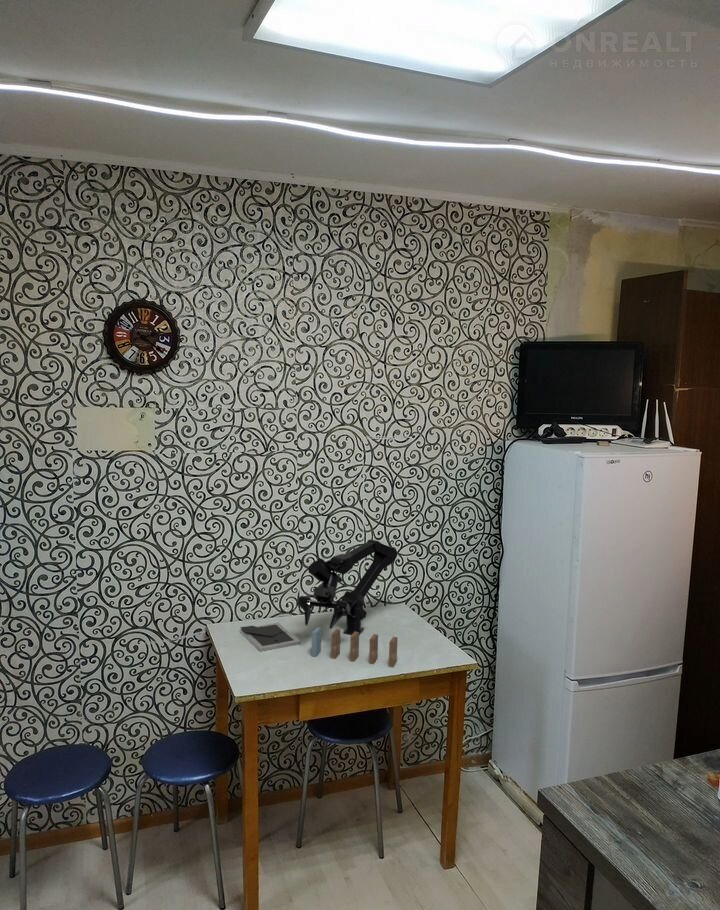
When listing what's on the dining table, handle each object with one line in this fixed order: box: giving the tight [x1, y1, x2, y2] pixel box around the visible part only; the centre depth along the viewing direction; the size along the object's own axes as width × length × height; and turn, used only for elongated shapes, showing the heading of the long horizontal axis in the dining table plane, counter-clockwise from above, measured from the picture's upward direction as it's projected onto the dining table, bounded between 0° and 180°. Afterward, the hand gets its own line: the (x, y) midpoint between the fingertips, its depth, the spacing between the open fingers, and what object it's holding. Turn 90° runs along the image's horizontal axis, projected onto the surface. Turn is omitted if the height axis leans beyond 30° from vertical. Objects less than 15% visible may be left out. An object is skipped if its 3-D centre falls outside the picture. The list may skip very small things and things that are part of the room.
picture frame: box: [239, 622, 301, 653], centre depth 265 cm, size 16×3×21 cm
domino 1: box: [311, 626, 322, 658], centre depth 251 cm, size 2×5×9 cm, turn 163°
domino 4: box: [368, 633, 379, 666], centre depth 246 cm, size 2×5×9 cm, turn 163°
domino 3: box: [349, 632, 360, 662], centre depth 248 cm, size 2×5×9 cm, turn 163°
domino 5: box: [388, 636, 399, 668], centre depth 244 cm, size 2×5×9 cm, turn 163°
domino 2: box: [330, 628, 341, 660], centre depth 250 cm, size 2×5×9 cm, turn 163°
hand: (318, 626), depth 252 cm, fingers open, 9 cm apart
